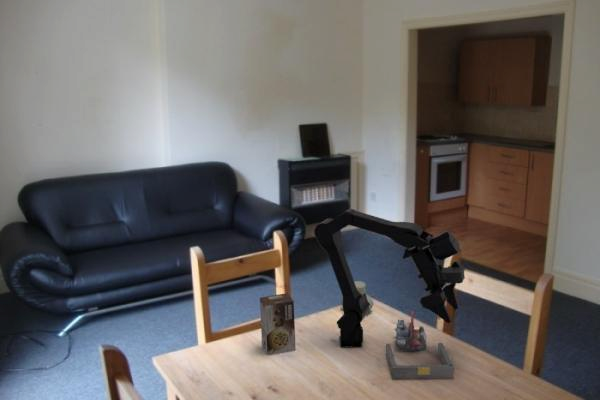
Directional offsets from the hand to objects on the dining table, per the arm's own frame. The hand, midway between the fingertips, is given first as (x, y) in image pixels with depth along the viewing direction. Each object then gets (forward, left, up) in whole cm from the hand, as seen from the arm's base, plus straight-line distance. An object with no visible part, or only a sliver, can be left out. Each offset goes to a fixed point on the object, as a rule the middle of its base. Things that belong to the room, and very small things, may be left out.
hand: (453, 315), depth 157 cm
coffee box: (-50, +9, -15) cm, 53 cm away
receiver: (-10, -2, -14) cm, 17 cm away
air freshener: (-24, +35, -15) cm, 45 cm away
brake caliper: (-10, +11, -15) cm, 21 cm away
